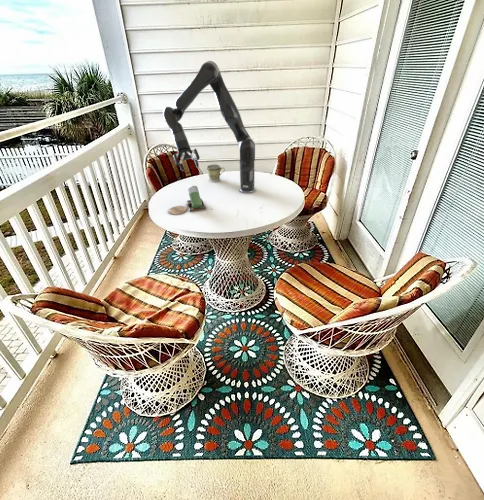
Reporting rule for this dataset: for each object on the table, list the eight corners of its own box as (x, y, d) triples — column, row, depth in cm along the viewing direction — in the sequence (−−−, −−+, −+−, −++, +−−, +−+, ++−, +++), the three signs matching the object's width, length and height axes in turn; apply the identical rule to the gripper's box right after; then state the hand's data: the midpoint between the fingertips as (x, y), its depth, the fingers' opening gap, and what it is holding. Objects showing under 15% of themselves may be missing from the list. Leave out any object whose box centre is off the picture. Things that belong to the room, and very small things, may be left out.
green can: (189, 205, 166) (186, 184, 160) (199, 203, 167) (196, 183, 161) (193, 212, 156) (190, 190, 149) (203, 210, 157) (200, 189, 151)
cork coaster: (175, 206, 164) (175, 205, 164) (189, 208, 161) (189, 207, 161) (165, 213, 157) (165, 212, 157) (180, 215, 154) (180, 214, 153)
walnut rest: (187, 204, 165) (186, 200, 163) (201, 202, 167) (201, 198, 166) (190, 211, 157) (189, 207, 156) (205, 209, 159) (205, 204, 158)
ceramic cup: (206, 182, 195) (204, 168, 190) (209, 177, 203) (208, 164, 198) (224, 183, 193) (223, 169, 188) (226, 178, 201) (226, 164, 196)
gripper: (169, 141, 152) (179, 169, 153) (193, 136, 157) (203, 164, 157) (169, 147, 160) (178, 174, 160) (192, 142, 164) (201, 168, 165)
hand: (190, 169), depth 159 cm, fingers open, 8 cm apart
